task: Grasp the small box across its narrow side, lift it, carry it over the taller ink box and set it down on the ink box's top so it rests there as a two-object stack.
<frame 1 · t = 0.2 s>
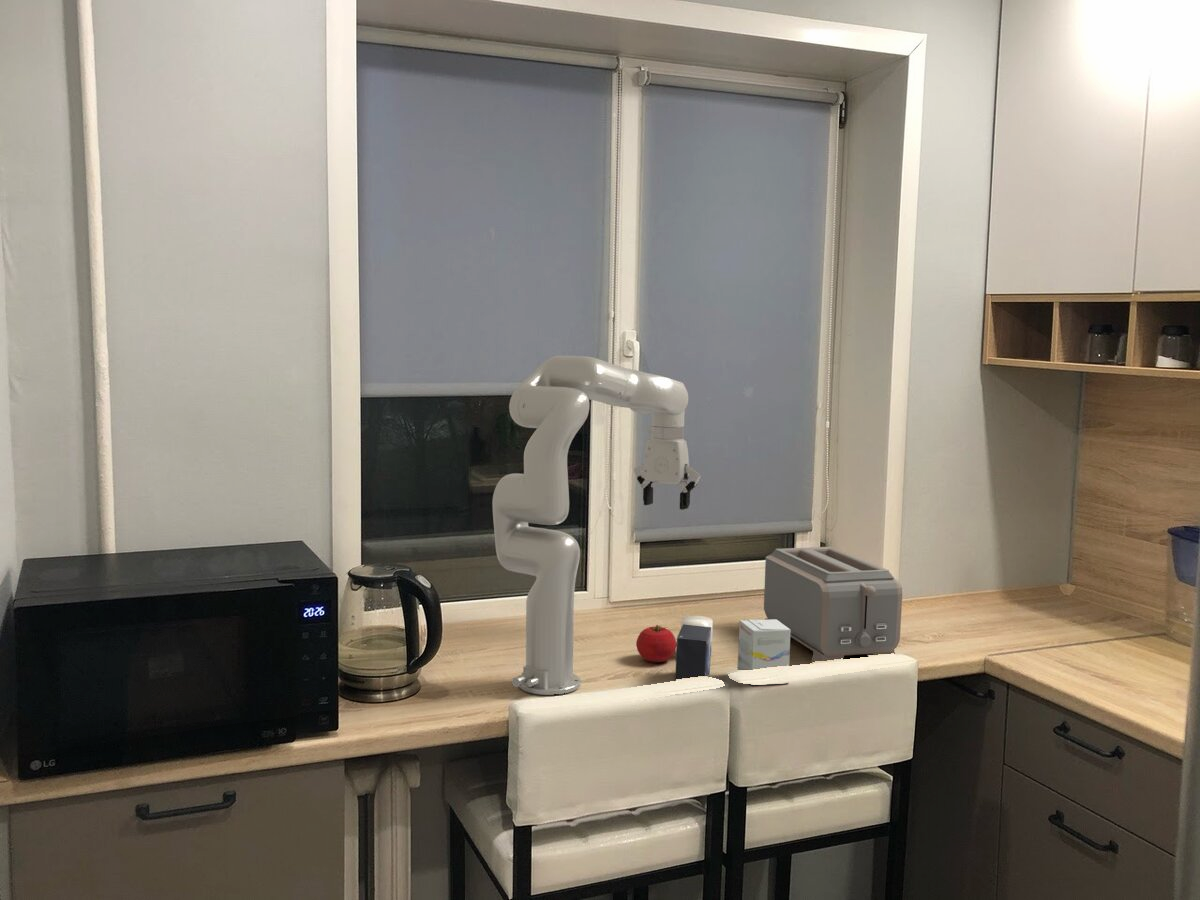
hand: (666, 506, 237), 31 cm above the worktop, fingers open, 9 cm apart
white capsule cylinder: (695, 654, 226), on the worktop
toaster: (829, 648, 234), on the worktop
ink box: (762, 679, 211), on the worktop
tomato: (655, 661, 221), on the worktop
small box: (692, 682, 208), on the worktop
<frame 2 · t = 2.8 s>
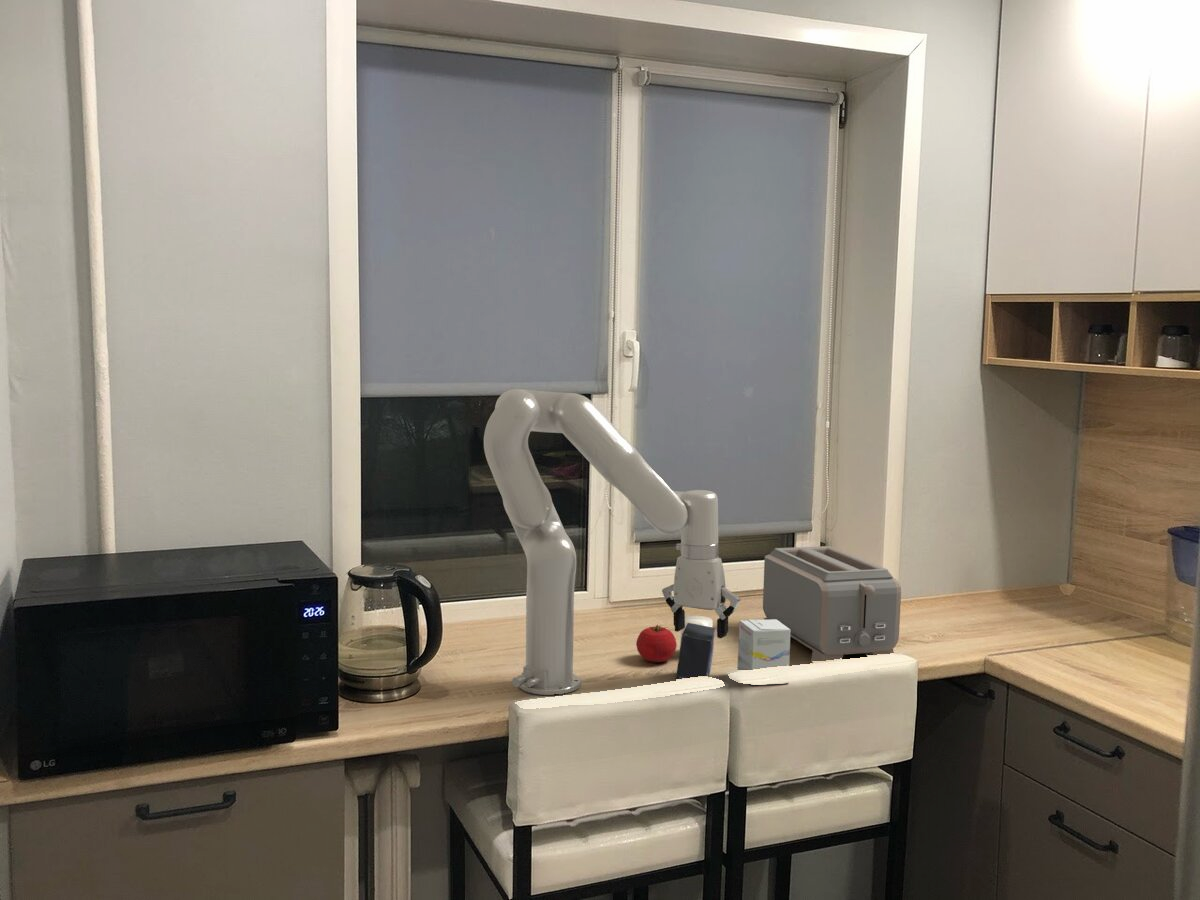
hand: (700, 633, 208), 10 cm above the worktop, fingers open, 9 cm apart
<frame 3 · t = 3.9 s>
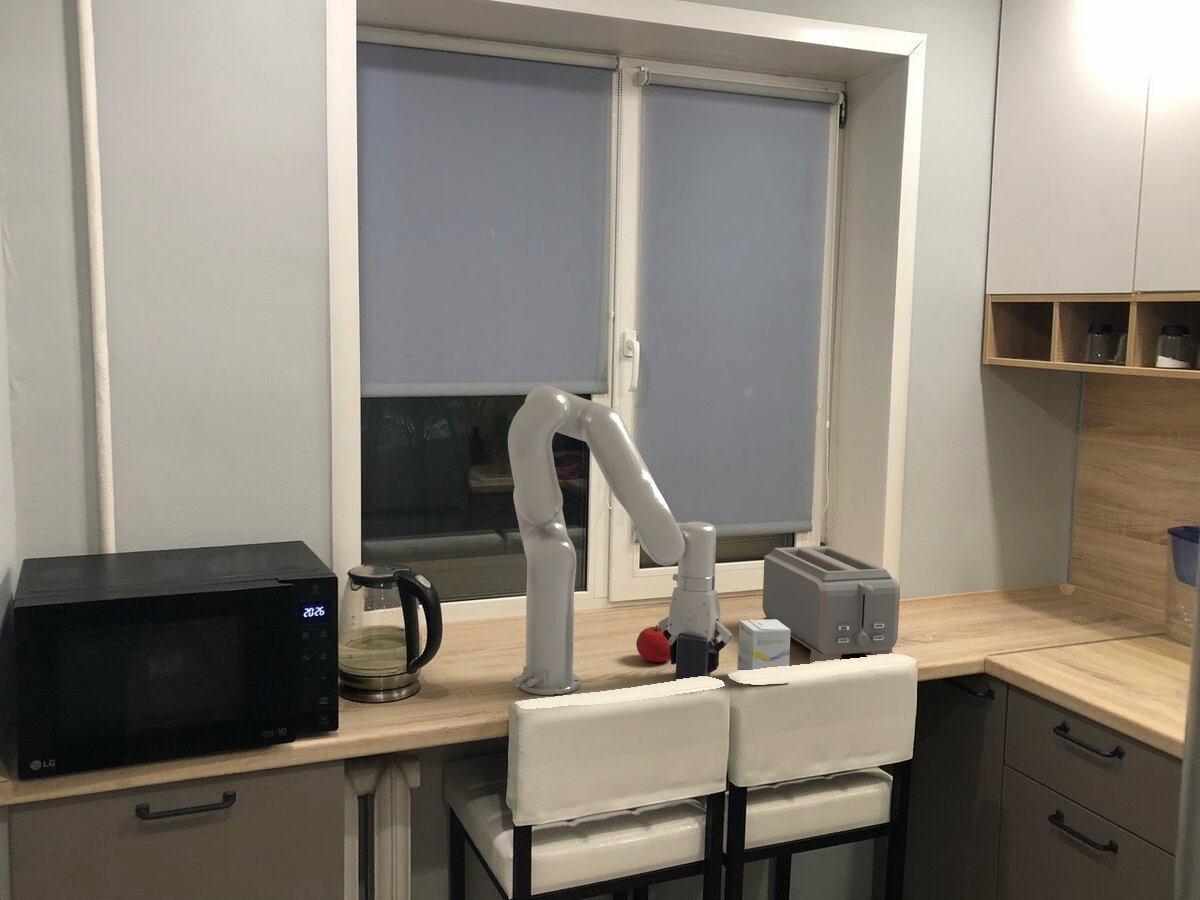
hand: (693, 666, 208), 3 cm above the worktop, fingers closed on small box, 7 cm apart
small box: (693, 682, 208), on the worktop, touching gripper
everything else where it was.
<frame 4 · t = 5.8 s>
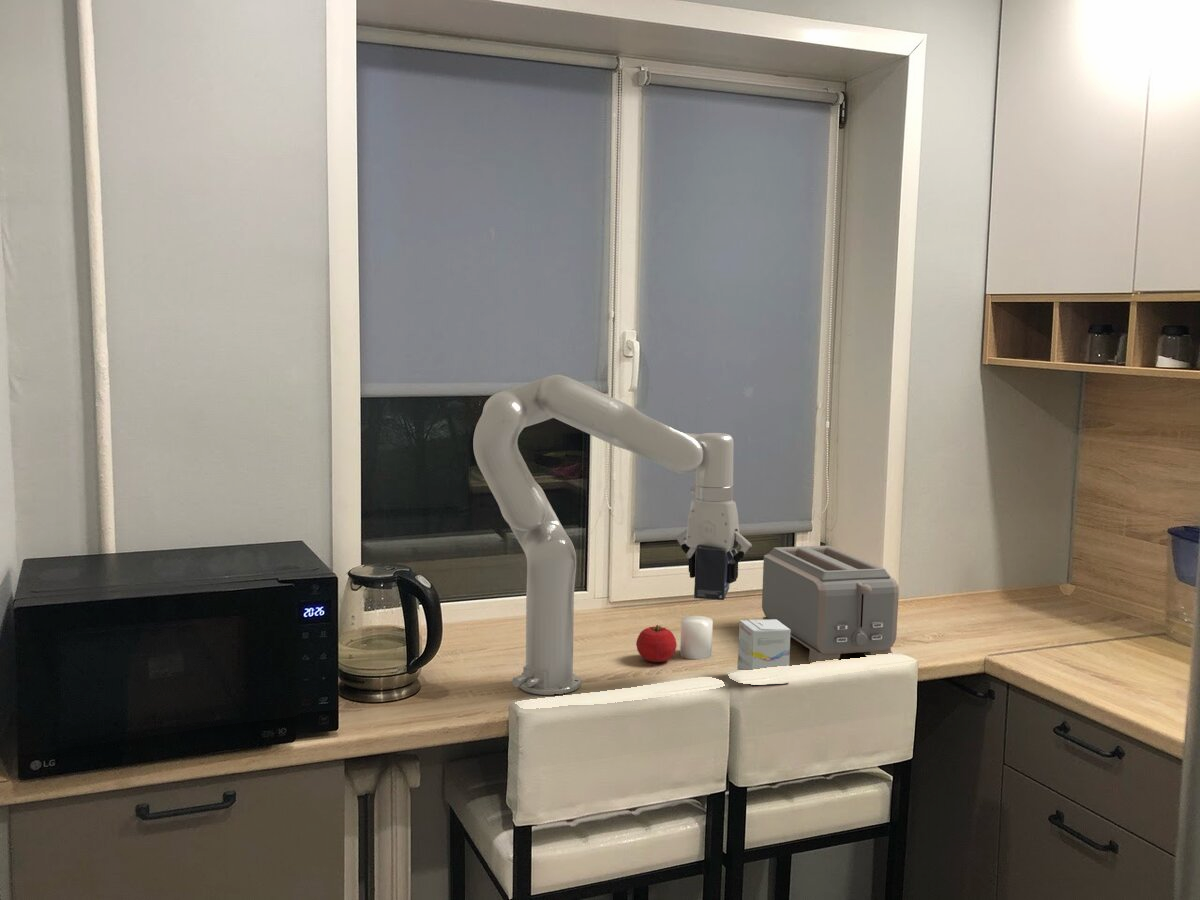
hand: (712, 578, 207), 21 cm above the worktop, fingers closed on small box, 7 cm apart
small box: (712, 594, 207), point 18 cm above the worktop, touching gripper
when the fingers open (16 cm above the worktop, at t = 7.7 s): small box drops 1 cm, resting on ink box.
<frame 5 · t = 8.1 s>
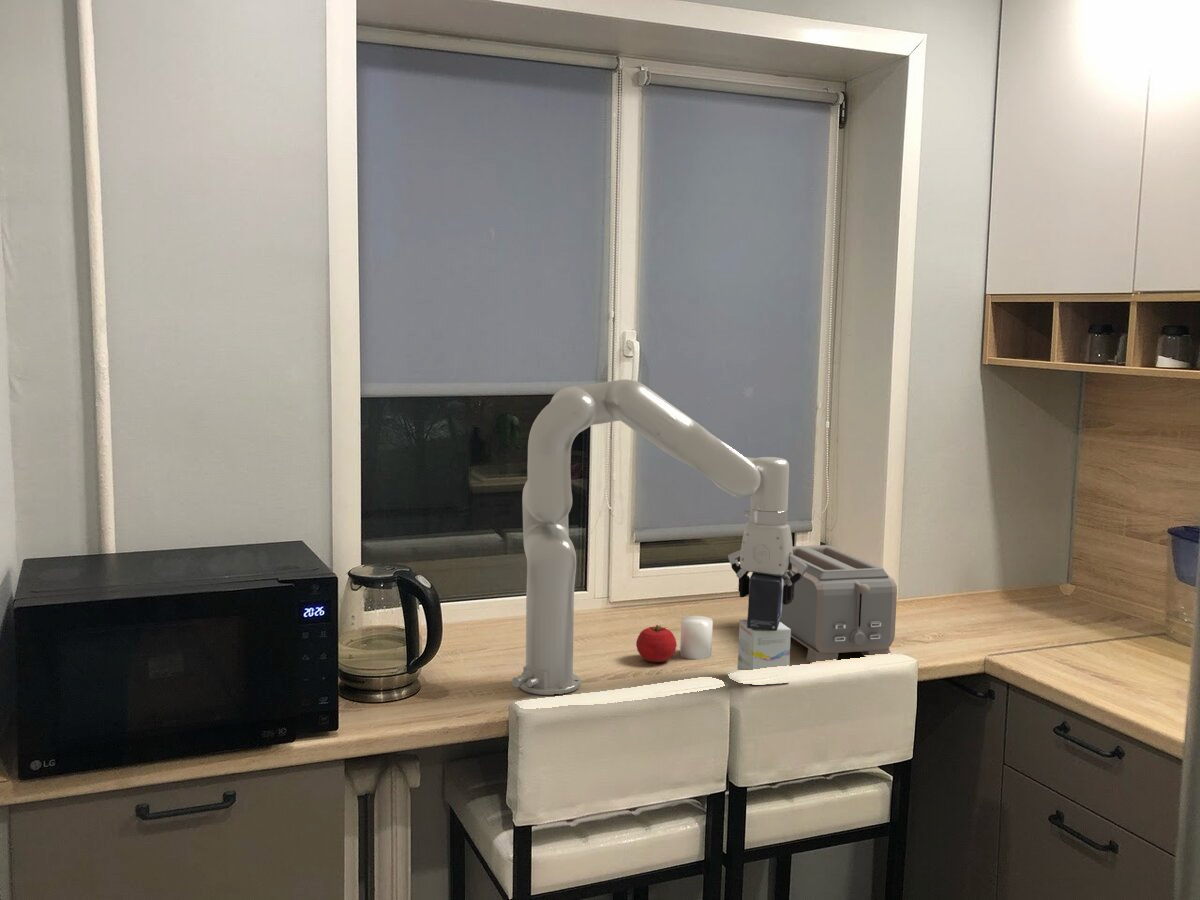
hand: (765, 599, 209), 17 cm above the worktop, fingers open, 9 cm apart
ink box: (762, 679, 211), on the worktop, touching small box
small box: (764, 624, 209), point 12 cm above the worktop, touching ink box
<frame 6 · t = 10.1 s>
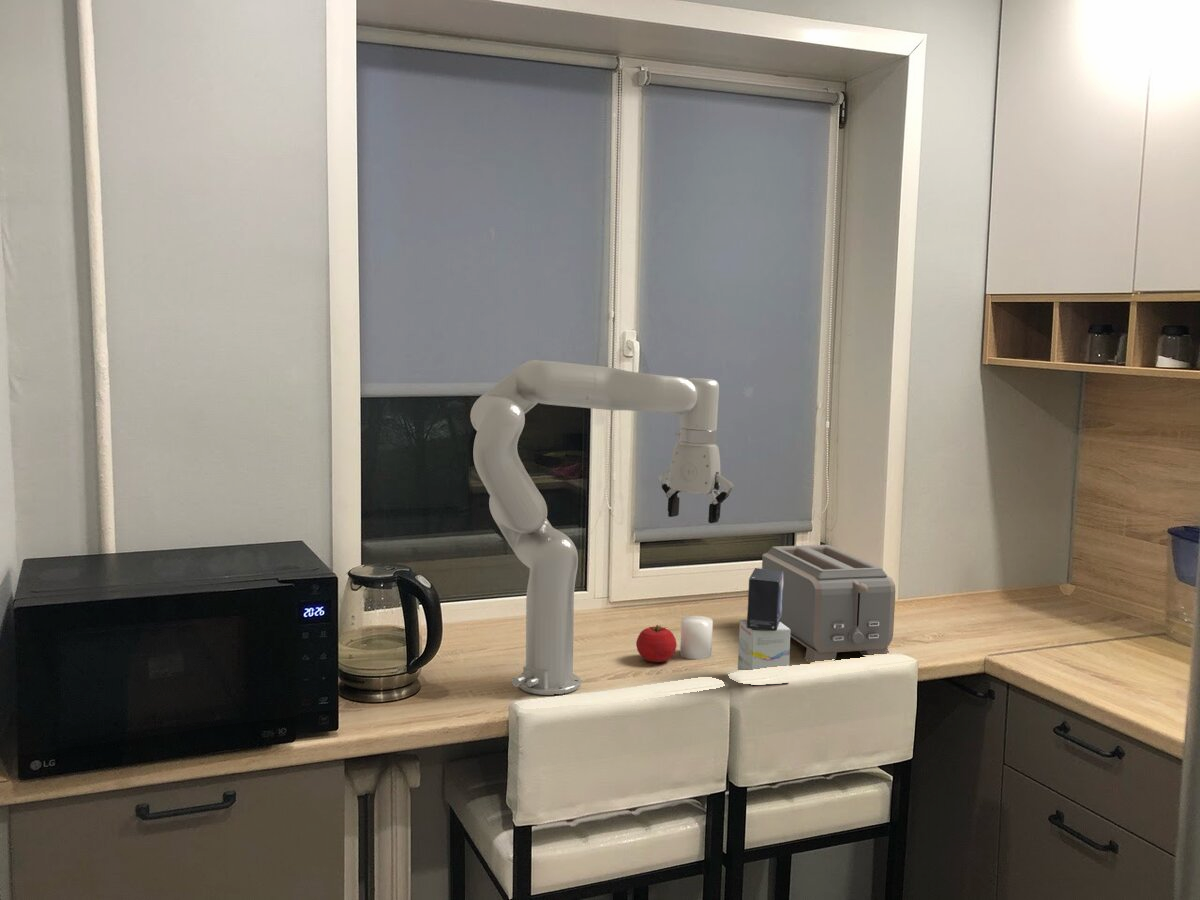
hand: (693, 519, 212), 32 cm above the worktop, fingers open, 9 cm apart
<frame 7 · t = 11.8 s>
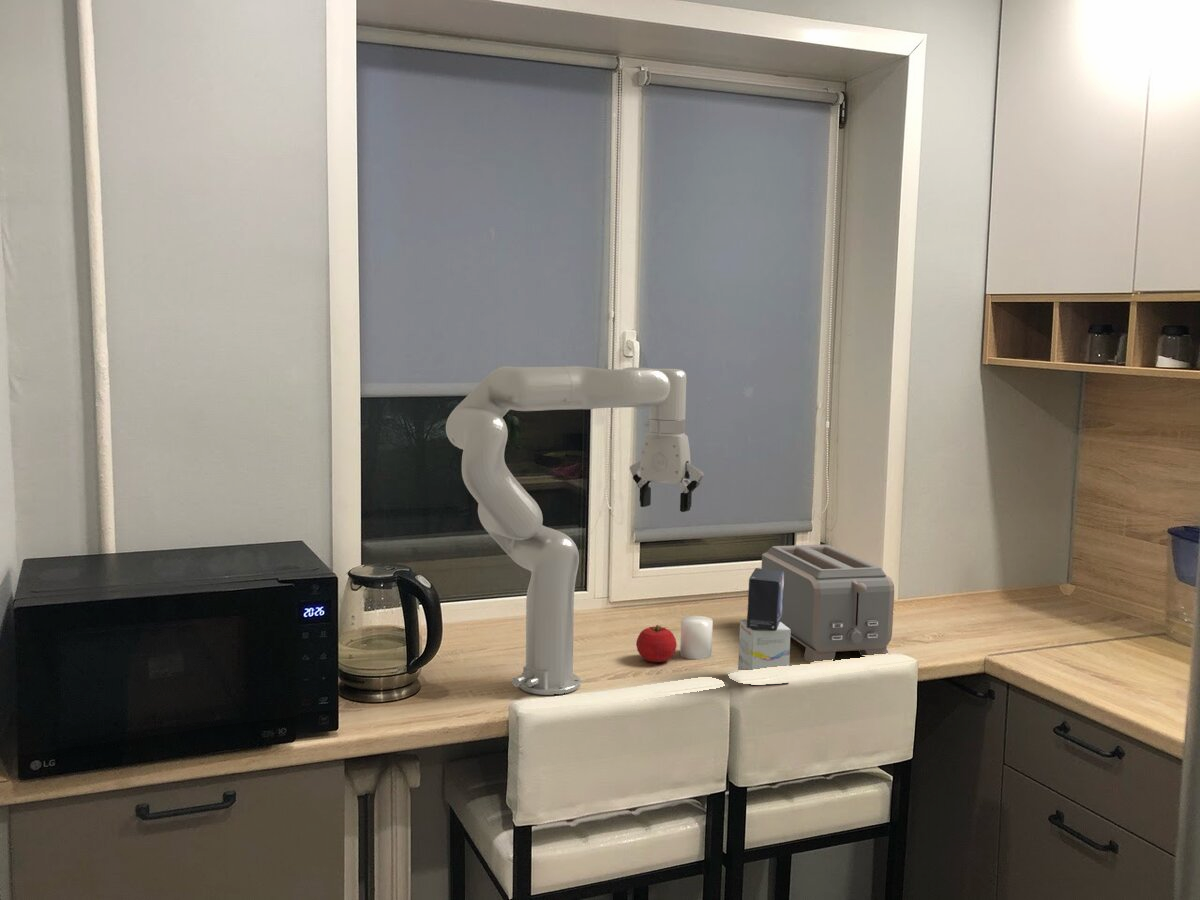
hand: (664, 508, 214), 34 cm above the worktop, fingers open, 9 cm apart
at the end: small box inside the target area on the ink box (0.3 cm from its centre), point 11.8 cm above the ink box's base; small box tilted 0°; small box touching ink box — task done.
